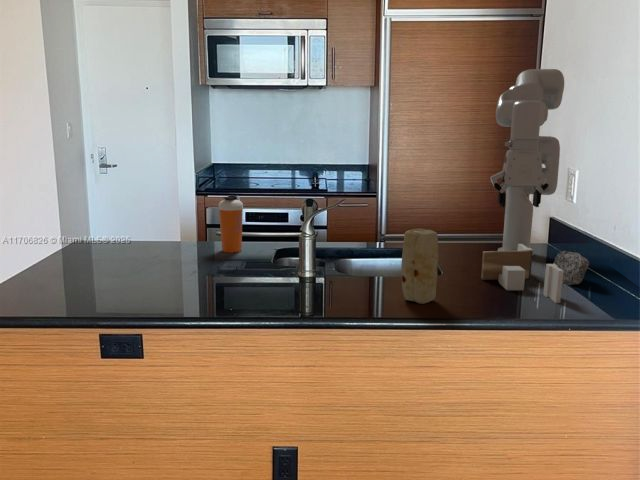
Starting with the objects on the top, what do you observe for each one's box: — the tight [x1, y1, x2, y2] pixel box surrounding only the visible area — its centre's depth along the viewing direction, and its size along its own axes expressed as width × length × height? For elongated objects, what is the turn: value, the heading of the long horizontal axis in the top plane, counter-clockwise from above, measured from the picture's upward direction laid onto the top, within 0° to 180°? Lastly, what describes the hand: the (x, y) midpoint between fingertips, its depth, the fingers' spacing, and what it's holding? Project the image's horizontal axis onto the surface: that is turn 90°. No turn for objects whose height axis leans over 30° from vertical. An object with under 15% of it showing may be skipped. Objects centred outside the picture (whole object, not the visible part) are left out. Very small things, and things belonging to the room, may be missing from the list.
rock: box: [552, 250, 590, 286], centre depth 180 cm, size 16×8×10 cm, turn 173°
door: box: [480, 250, 534, 281], centre depth 181 cm, size 3×16×9 cm, turn 96°
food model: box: [400, 228, 439, 305], centre depth 158 cm, size 10×7×20 cm
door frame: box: [517, 244, 563, 304], centre depth 174 cm, size 2×33×9 cm, turn 0°
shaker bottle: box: [218, 195, 244, 254], centre depth 213 cm, size 9×9×20 cm
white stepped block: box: [497, 266, 526, 291], centre depth 174 cm, size 8×5×6 cm, turn 0°
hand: (518, 206), depth 168 cm, fingers open, 9 cm apart
